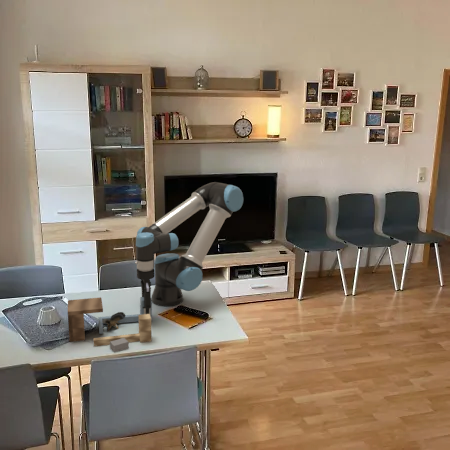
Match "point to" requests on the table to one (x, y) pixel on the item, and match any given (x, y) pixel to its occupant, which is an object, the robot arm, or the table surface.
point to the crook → (126, 316)
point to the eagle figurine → (114, 320)
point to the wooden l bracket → (81, 316)
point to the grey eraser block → (119, 345)
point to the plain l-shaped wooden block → (142, 336)
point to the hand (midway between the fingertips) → (146, 318)
